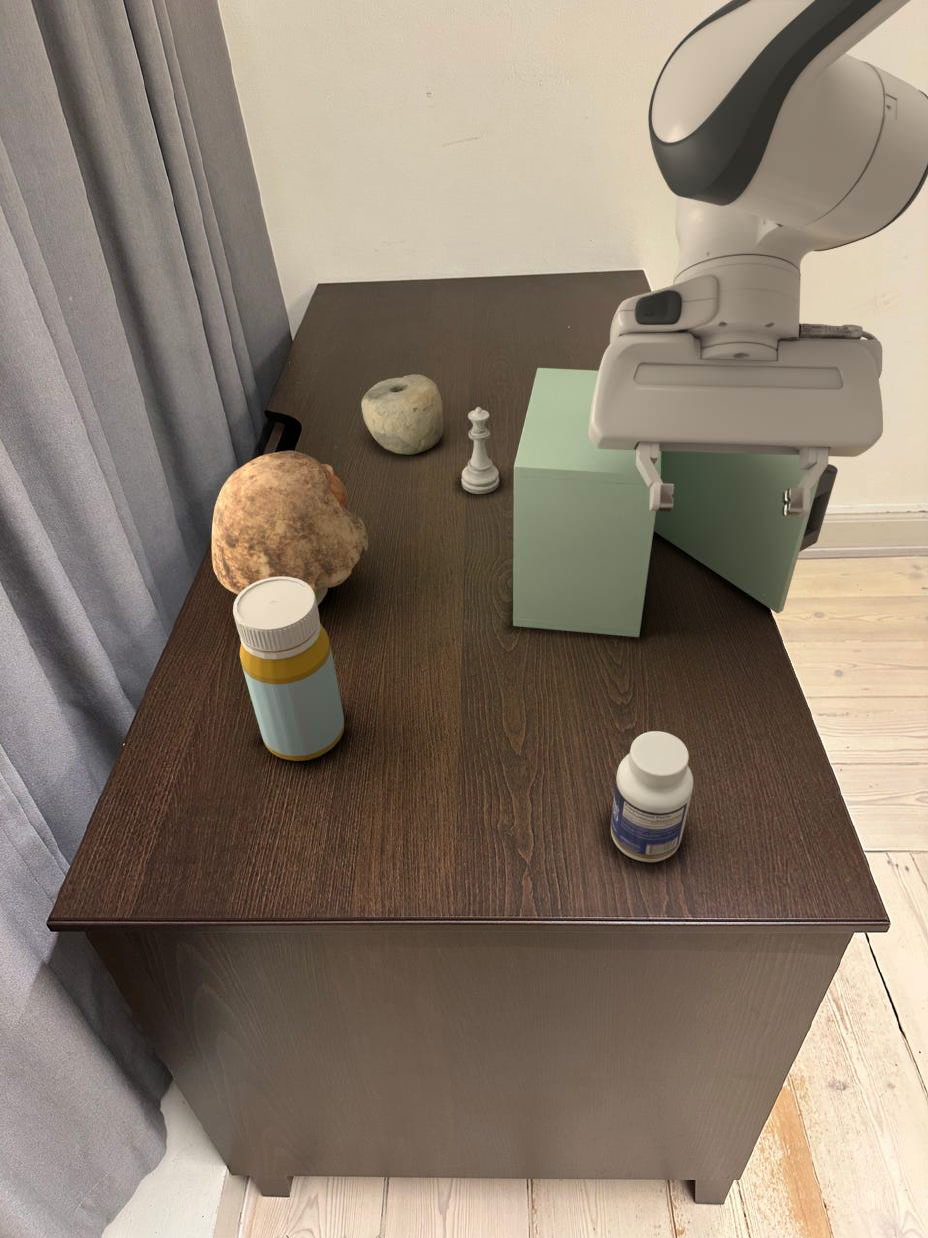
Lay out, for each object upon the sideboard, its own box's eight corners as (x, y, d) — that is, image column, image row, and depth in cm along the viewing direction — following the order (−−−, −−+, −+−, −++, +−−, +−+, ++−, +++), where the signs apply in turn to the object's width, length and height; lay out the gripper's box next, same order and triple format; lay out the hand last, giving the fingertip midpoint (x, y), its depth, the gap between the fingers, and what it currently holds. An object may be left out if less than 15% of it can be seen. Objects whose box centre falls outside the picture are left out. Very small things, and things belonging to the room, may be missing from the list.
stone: (466, 393, 112) (435, 365, 103) (442, 471, 113) (409, 450, 104) (398, 378, 116) (363, 351, 107) (375, 454, 116) (338, 433, 107)
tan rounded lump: (406, 575, 92) (394, 449, 82) (307, 667, 82) (279, 537, 72) (296, 531, 98) (272, 409, 88) (192, 612, 89) (152, 485, 79)
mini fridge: (643, 525, 97) (662, 373, 85) (639, 637, 84) (660, 475, 72) (534, 518, 99) (537, 367, 87) (513, 626, 86) (513, 466, 74)
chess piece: (455, 489, 103) (451, 412, 97) (472, 470, 106) (469, 394, 100) (488, 498, 102) (487, 420, 95) (505, 479, 105) (505, 402, 98)
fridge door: (690, 505, 99) (715, 356, 87) (823, 587, 88) (871, 429, 76) (646, 526, 97) (666, 376, 85) (777, 614, 85) (820, 454, 73)
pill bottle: (623, 795, 70) (635, 713, 64) (689, 820, 68) (708, 738, 62) (599, 848, 67) (608, 766, 60) (667, 876, 65) (685, 795, 58)
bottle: (355, 750, 75) (331, 618, 65) (273, 776, 73) (236, 644, 63) (333, 694, 80) (308, 563, 70) (256, 717, 78) (219, 586, 68)
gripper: (865, 342, 66) (861, 525, 65) (590, 335, 68) (583, 515, 67) (901, 307, 60) (897, 509, 59) (597, 301, 61) (589, 499, 61)
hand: (728, 512), depth 63 cm, fingers open, 8 cm apart
